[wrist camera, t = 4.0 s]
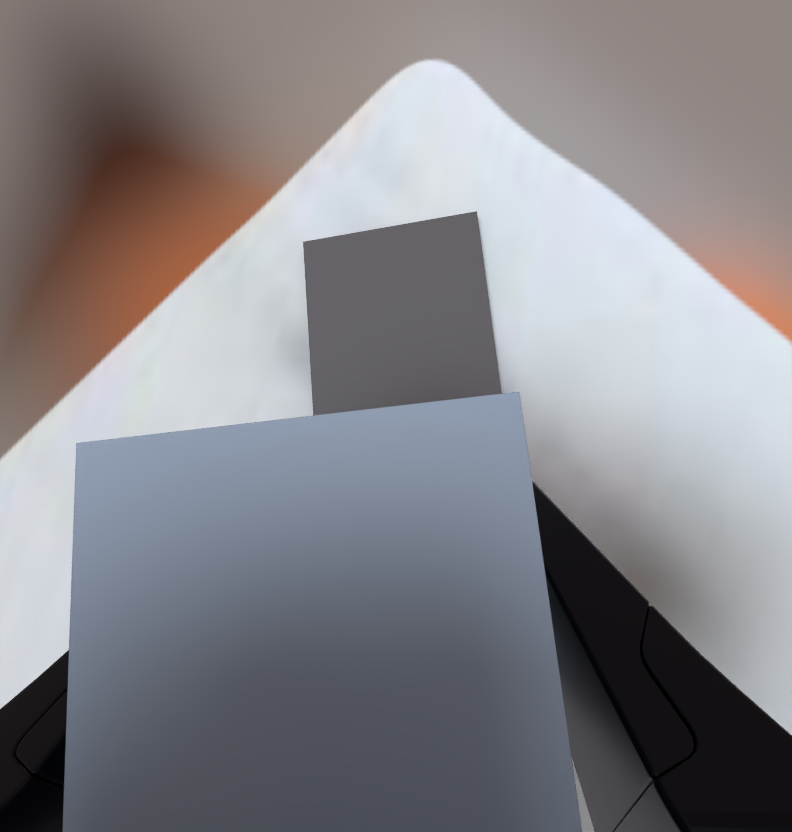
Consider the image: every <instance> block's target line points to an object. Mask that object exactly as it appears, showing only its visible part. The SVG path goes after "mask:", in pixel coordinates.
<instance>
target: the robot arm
mask: <svg viewBox="0 0 792 832" xmlns="http://www.w3.org/2000/svg"><path fill="white" fill-rule="evenodd" d="M532 485H533V492H534V499H535V506H536V513H537V520H538V527H539V534H540V541H541V548H542V555H543V562H544V569H545V576H546V583H547V590H548V597H549V604H550V611H551V618H552V625H553V632H554V639H555V646H556V653H557V660H558V667H559V674H560V681H561V688H562V695H563V702H564V709H565V716H566V723H567V730H568V737H569V744H570V751H571V755H572V759H573V762H574V765H575V768H576V772H577V775H578V778H579V781H580V785H581V788H582V791H583V794H584V798H585V801H586V804H587V807H588V811H589V814H590V817H591V820H592V824H593V827H594V830H595V832H792V735H791V734H789V733H788V732H787V731H786V730H785V729H784V728H783V727H781V726H780V725H779V724H778V723H777V722H776V721H775V720H774V719H772V718H771V717H770V716H769V715H768V714H767V713H766V712H764V711H763V710H762V709H761V708H760V707H759V706H758V705H757V704H755V703H754V702H753V701H752V700H751V699H750V698H749V697H747V696H746V695H745V694H744V693H743V692H742V691H741V690H739V689H738V688H737V687H736V686H735V685H734V684H733V683H732V682H731V681H730V680H728V679H727V678H726V677H725V676H724V675H723V674H722V673H721V672H720V671H719V670H718V669H716V668H715V667H714V666H713V665H712V664H711V663H710V662H709V661H708V660H707V659H705V658H704V657H703V656H702V655H701V654H700V653H699V652H698V651H697V650H696V649H695V648H694V647H693V646H692V645H691V644H690V643H689V642H688V641H687V640H686V639H685V638H684V637H683V636H682V635H681V634H680V633H679V632H678V631H677V630H676V629H675V628H674V627H673V626H672V625H671V624H670V623H669V622H668V621H667V620H666V619H665V618H664V617H663V616H662V615H661V614H660V613H659V612H658V611H657V609H656V608H655V607H653V606H649V602H648V600H647V599H646V598H645V597H644V596H643V595H642V594H641V593H640V592H639V591H638V590H637V589H636V588H635V587H634V586H633V585H632V584H631V583H630V582H629V581H628V580H627V579H626V578H625V577H624V576H623V575H622V573H621V572H620V571H619V570H618V569H617V568H616V567H615V566H614V565H613V564H612V563H611V562H610V561H609V560H608V559H607V558H606V557H605V556H604V555H603V554H602V553H601V552H600V551H599V550H598V549H597V548H596V547H595V545H594V544H593V543H592V542H591V541H590V540H589V539H588V538H587V537H586V536H585V535H584V534H583V533H582V532H581V531H580V530H579V529H578V528H577V527H576V526H575V525H574V524H573V523H572V522H571V521H570V520H569V519H568V518H567V516H566V515H565V514H564V513H563V512H562V511H561V510H560V509H559V508H558V507H557V506H556V505H555V504H554V503H553V502H552V501H551V500H550V499H549V498H548V497H547V496H546V495H545V494H544V493H543V492H542V491H541V490H540V489H539V487H538V486H537V485H536V484H535V483H534V482H533V481H532ZM68 665H69V650H68V651H67V652H66V653H65V654H64V655H62V656H61V657H60V658H59V659H58V660H57V661H56V662H55V663H54V664H52V665H51V666H50V667H49V668H48V669H47V670H46V671H45V672H43V673H42V674H41V675H40V676H39V677H38V678H37V679H35V680H34V681H33V682H32V683H31V684H30V685H28V686H27V687H26V688H25V689H24V690H23V691H21V692H20V693H19V694H18V695H17V696H15V697H14V698H13V699H12V700H11V701H10V702H8V703H7V704H6V705H5V706H4V707H2V708H1V709H0V832H63V805H64V777H65V749H66V721H67V693H68Z"/></svg>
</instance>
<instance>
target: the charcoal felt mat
mask: <svg viewBox="0 0 792 832" xmlns="http://www.w3.org/2000/svg"><path fill="white" fill-rule="evenodd" d="M303 246H304V263H305V280H306V297H307V314H308V331H309V348H310V365H311V382H312V399H313V416H315V415H323V414H332V413H340V412H349V411H358V410H366V409H375V408H383V407H392V406H401V405H409V404H418V403H426V402H435V401H444V400H452V399H461V398H469V397H478V396H487V395H495V394H501V387H500V380H499V372H498V365H497V358H496V350H495V343H494V336H493V328H492V321H491V313H490V306H489V299H488V291H487V284H486V276H485V269H484V262H483V254H482V247H481V239H480V232H479V225H478V217H477V211H476V212H471V213H465V214H459V215H454V216H448V217H442V218H437V219H431V220H425V221H419V222H414V223H408V224H402V225H397V226H391V227H385V228H380V229H374V230H368V231H363V232H357V233H351V234H346V235H340V236H334V237H329V238H323V239H317V240H311V241H306V242H303Z"/></svg>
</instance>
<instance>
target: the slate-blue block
mask: <svg viewBox="0 0 792 832" xmlns="http://www.w3.org/2000/svg"><path fill="white" fill-rule="evenodd" d="M63 832H582V828H581V821H580V814H579V807H578V800H577V793H576V786H575V779H574V772H573V765H572V758H571V751H570V744H569V737H568V730H567V723H566V716H565V709H564V702H563V695H562V688H561V681H560V674H559V667H558V660H557V653H556V646H555V639H554V632H553V625H552V618H551V611H550V604H549V597H548V590H547V583H546V576H545V569H544V562H543V555H542V548H541V541H540V534H539V527H538V520H537V513H536V506H535V499H534V492H533V485H532V478H531V470H530V463H529V456H528V449H527V442H526V435H525V428H524V421H523V414H522V407H521V400H520V393H519V392H512V393H504V394H495V395H487V396H478V397H469V398H461V399H452V400H444V401H435V402H426V403H418V404H409V405H401V406H392V407H383V408H375V409H366V410H358V411H349V412H340V413H332V414H323V415H315V416H306V417H297V418H289V419H280V420H272V421H263V422H254V423H246V424H237V425H229V426H220V427H211V428H203V429H194V430H185V431H177V432H168V433H160V434H151V435H142V436H134V437H125V438H117V439H108V440H99V441H91V442H82V443H76V469H75V497H74V525H73V553H72V581H71V609H70V637H69V665H68V693H67V721H66V749H65V777H64V805H63Z"/></svg>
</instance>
